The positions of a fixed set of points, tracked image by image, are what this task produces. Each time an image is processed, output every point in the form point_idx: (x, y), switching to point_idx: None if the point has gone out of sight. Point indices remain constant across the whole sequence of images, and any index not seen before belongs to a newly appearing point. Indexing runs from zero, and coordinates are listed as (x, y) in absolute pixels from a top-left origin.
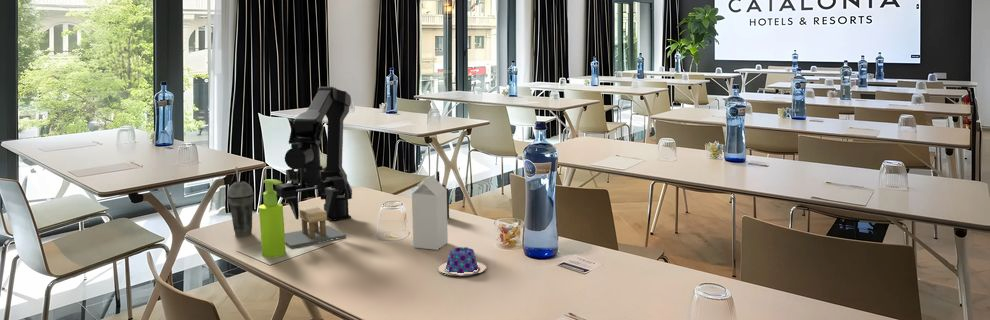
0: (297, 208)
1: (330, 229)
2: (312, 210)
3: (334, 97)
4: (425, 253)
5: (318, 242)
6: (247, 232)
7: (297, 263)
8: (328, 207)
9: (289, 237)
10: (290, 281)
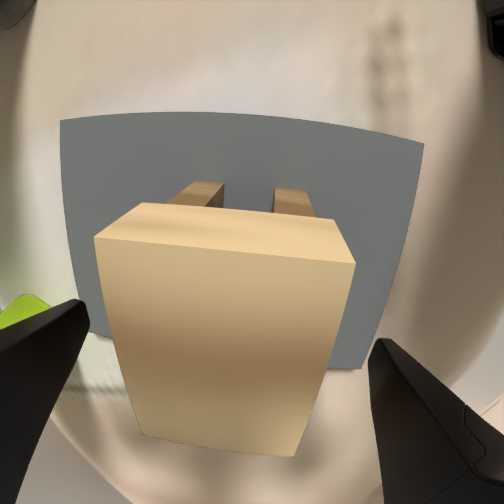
0: (39, 421)
1: (379, 238)
2: (208, 385)
3: None
4: (366, 498)
5: None
6: (2, 24)
7: (99, 422)
8: (381, 415)
9: (103, 216)
10: (83, 454)
